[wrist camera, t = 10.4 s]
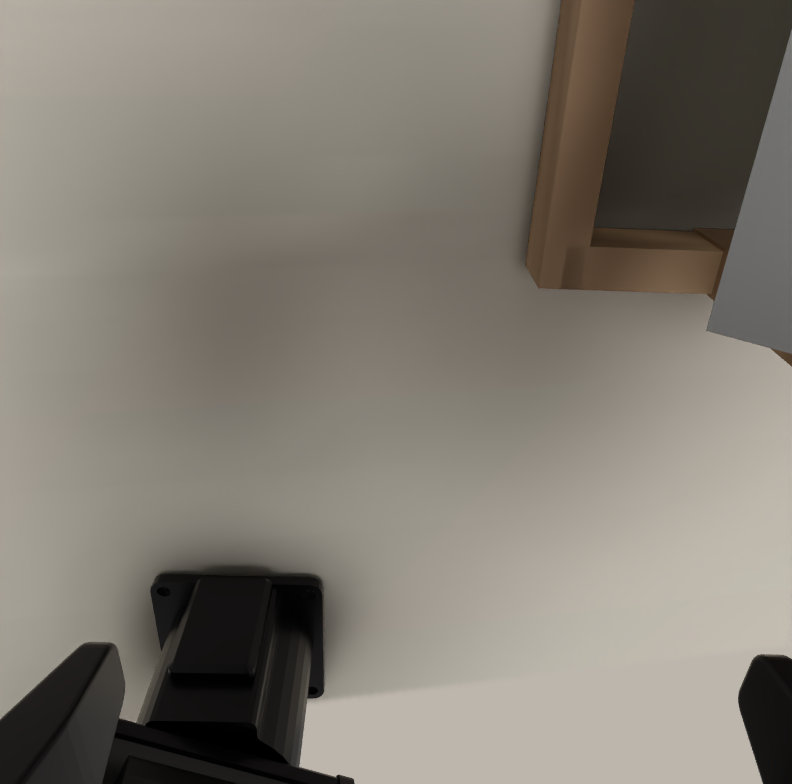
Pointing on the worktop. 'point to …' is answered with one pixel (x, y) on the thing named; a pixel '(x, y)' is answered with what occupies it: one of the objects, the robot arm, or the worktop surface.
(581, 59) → the trapdoor frame
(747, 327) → the trapdoor
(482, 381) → the worktop surface
